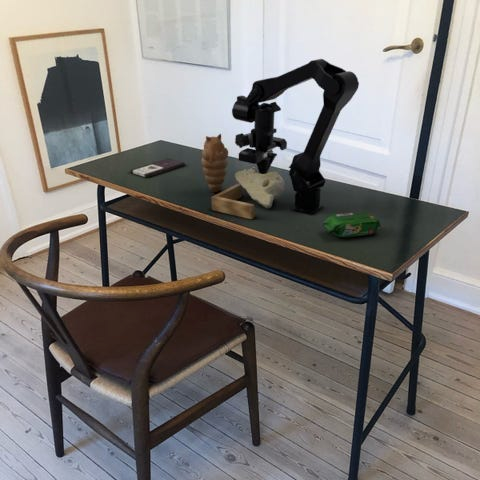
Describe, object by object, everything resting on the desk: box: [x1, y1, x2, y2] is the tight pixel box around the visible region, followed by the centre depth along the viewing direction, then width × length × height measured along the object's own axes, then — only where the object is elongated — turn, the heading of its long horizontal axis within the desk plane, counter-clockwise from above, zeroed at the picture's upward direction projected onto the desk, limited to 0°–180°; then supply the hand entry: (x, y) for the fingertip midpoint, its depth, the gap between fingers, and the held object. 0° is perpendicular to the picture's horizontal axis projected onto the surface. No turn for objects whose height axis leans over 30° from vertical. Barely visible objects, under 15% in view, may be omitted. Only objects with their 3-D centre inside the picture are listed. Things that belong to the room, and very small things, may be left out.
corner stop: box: [210, 182, 255, 220], centre depth 157 cm, size 14×14×4 cm
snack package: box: [322, 211, 381, 238], centre depth 139 cm, size 7×16×5 cm, turn 103°
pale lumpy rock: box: [234, 166, 286, 209], centre depth 160 cm, size 15×7×15 cm
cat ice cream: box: [200, 133, 229, 193], centre depth 165 cm, size 9×8×18 cm
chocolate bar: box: [129, 157, 186, 178], centre depth 190 cm, size 9×1×18 cm
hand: (262, 177), depth 163 cm, fingers closed
